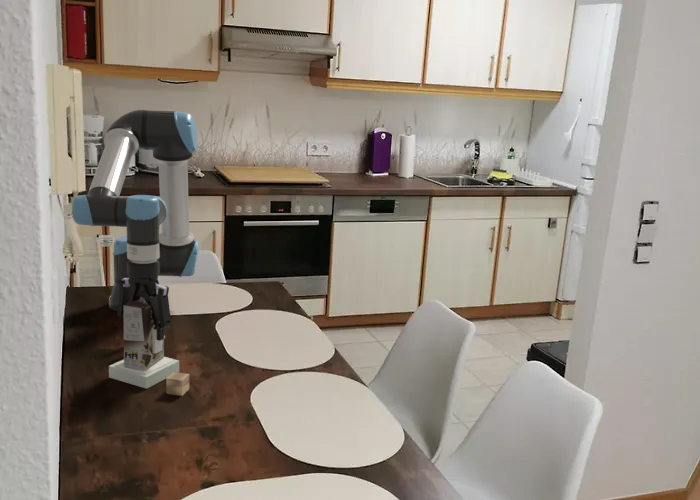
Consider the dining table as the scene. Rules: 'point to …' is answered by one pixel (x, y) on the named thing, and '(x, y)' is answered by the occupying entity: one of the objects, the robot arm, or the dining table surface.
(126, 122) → the robot arm
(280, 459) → the dining table surface
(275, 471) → the dining table surface
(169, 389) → the beech block
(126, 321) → the coffee box
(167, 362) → the podium
